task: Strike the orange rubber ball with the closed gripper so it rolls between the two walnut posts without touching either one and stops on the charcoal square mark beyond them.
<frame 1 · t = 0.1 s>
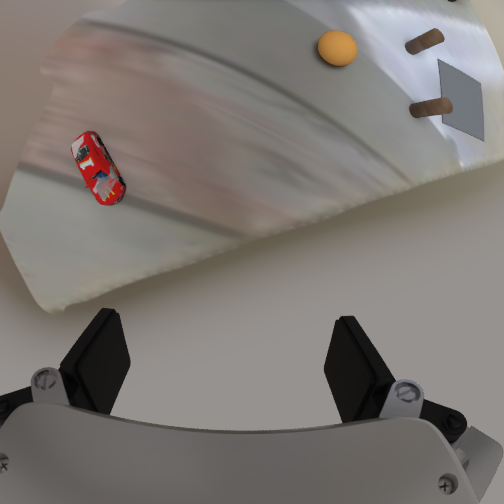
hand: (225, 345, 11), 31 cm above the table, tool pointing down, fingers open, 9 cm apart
ball: (337, 47, 30), on the table
post 1: (415, 110, 35), on the table
post 2: (410, 48, 31), on the table
race car: (101, 167, 37), on the table
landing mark: (463, 100, 34), on the table
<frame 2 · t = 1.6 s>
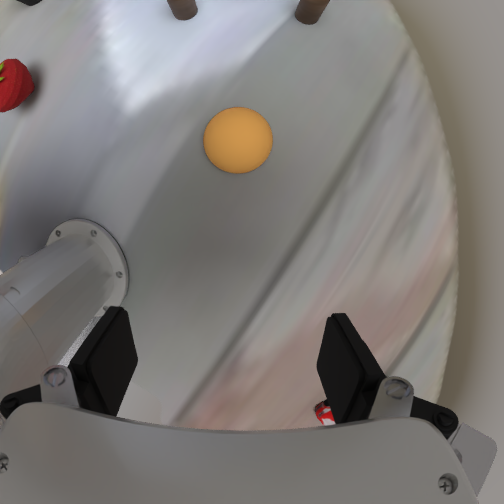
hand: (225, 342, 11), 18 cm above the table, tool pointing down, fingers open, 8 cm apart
ball: (237, 140, 22), on the table
post 1: (306, 15, 20), on the table
post 2: (185, 11, 19), on the table
strawberry: (33, 89, 21), on the table
race car: (351, 394, 38), on the table
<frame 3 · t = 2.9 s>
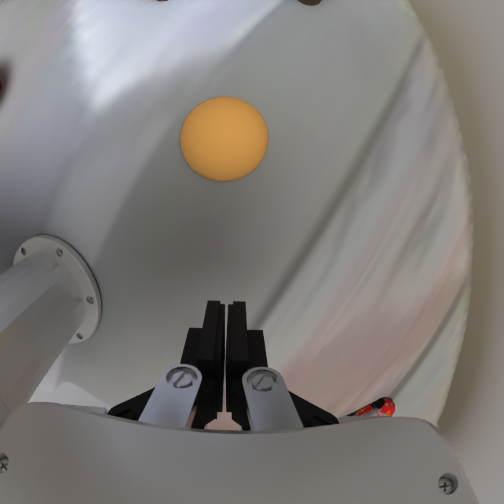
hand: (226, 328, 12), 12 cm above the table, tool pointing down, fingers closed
ball: (224, 138, 17), on the table
strawberry: (0, 88, 15), on the table
race car: (353, 417, 34), on the table
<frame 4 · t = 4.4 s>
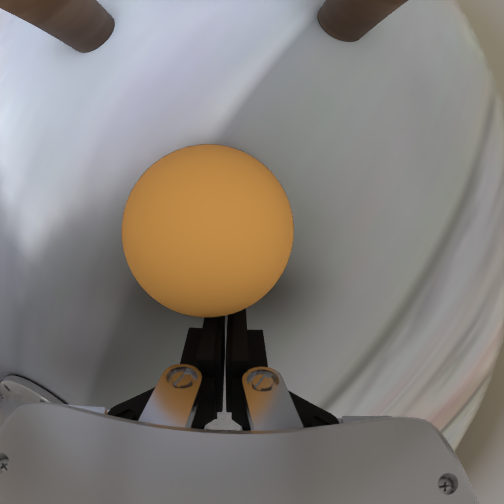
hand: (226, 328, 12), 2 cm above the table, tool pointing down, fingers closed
ball: (207, 230, 9), on the table
post 1: (341, 22, 9), on the table
post 2: (93, 32, 9), on the table
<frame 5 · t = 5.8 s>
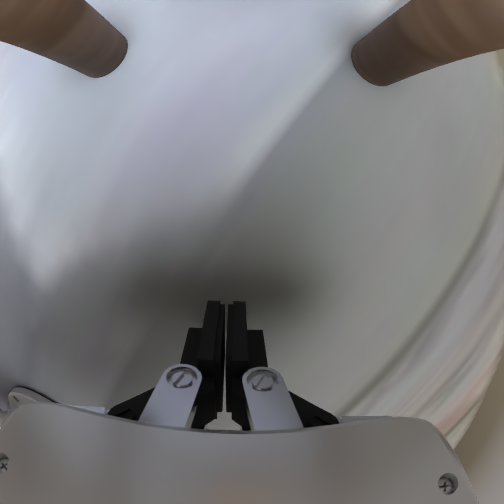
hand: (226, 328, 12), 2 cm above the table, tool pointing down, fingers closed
post 1: (375, 62, 10), on the table
post 2: (103, 54, 9), on the table
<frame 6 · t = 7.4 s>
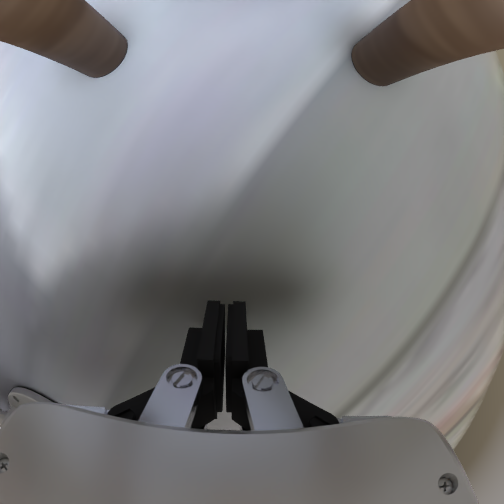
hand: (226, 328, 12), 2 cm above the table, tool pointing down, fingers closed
post 1: (375, 62, 10), on the table
post 2: (103, 54, 9), on the table
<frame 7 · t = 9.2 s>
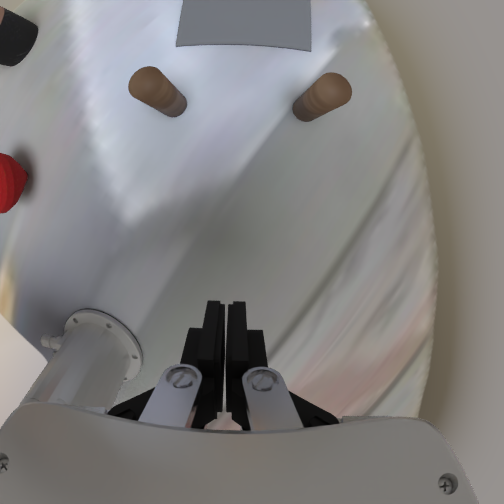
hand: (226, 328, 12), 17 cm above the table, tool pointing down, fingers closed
post 1: (305, 109, 24), on the table
post 2: (174, 105, 23), on the table
strawberry: (26, 176, 24), on the table
travel mug: (22, 45, 17), on the table
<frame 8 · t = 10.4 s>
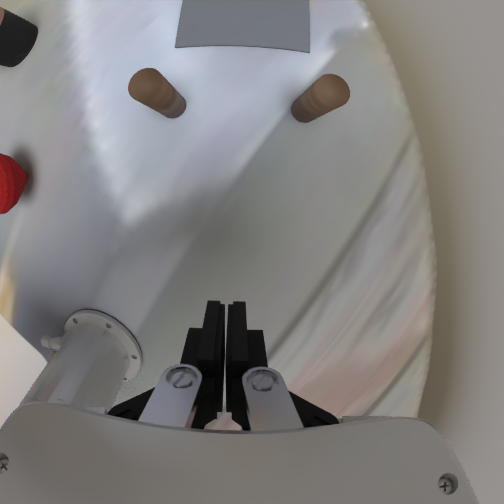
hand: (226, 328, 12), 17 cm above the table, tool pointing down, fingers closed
post 1: (304, 110, 24), on the table
post 2: (173, 106, 23), on the table
strawberry: (26, 177, 24), on the table
travel mug: (22, 45, 17), on the table
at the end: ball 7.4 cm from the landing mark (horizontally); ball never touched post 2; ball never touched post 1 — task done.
